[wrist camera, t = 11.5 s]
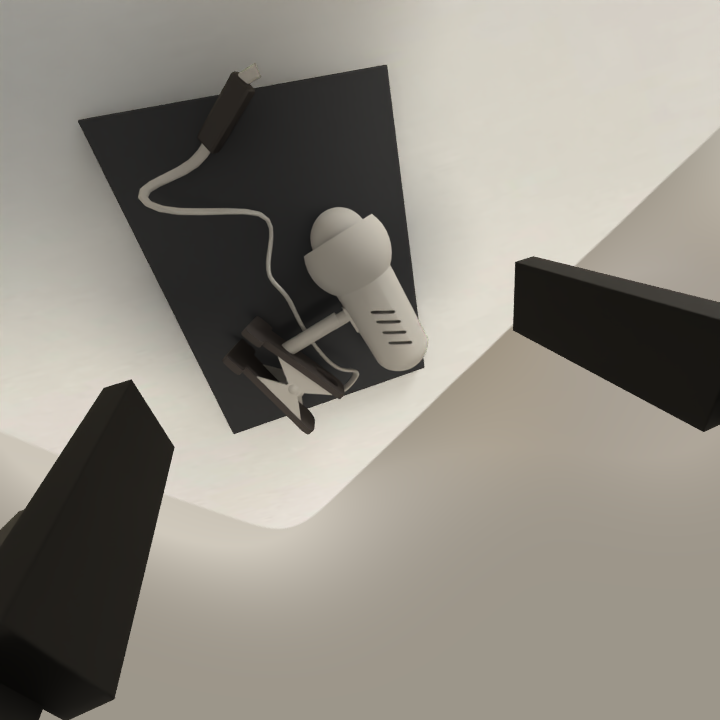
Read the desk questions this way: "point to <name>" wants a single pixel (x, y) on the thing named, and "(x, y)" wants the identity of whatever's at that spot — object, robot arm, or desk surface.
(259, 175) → the desk mat
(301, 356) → the clip-on lamp
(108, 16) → the desk surface
